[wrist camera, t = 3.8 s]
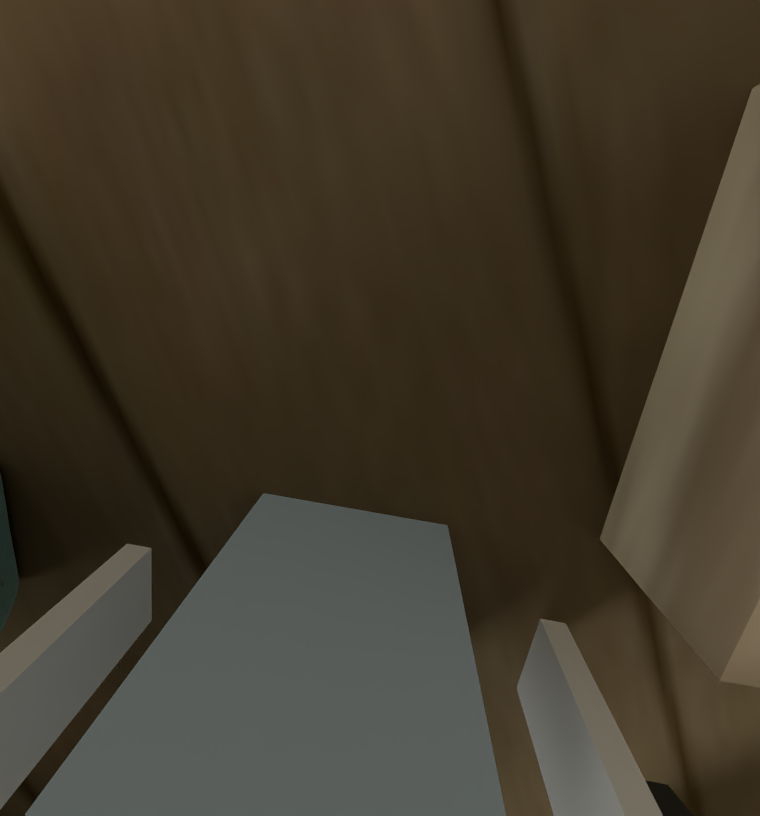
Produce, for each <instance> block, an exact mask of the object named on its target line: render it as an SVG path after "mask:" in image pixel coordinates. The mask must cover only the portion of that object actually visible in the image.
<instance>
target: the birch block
mask: <svg viewBox="0 0 760 816" xmlns="http://www.w3.org/2000/svg"><path fill="white" fill-rule="evenodd" d="M600 540H601V541H602V543H603V544H604V545H605V546H606V547H607V548H608V550H609V551H610V552H611V553H612V554H613V556H614V557H615V558H616V559H617V560H618V562H619V563H620V564H621V565H622V566H623V568H624V569H625V570H626V571H627V572H628V573H629V575H630V576H631V577H632V578H633V579H634V581H635V582H636V583H637V584H638V585H639V587H640V588H641V589H642V590H643V591H644V592H645V594H646V595H647V596H648V597H649V598H650V600H651V601H652V602H653V603H654V604H655V606H656V607H657V608H658V609H659V610H660V611H661V613H662V614H663V615H664V616H665V617H666V619H667V620H668V621H669V622H670V623H671V625H672V626H673V627H674V628H675V629H676V630H677V632H678V633H679V634H680V635H681V636H682V638H683V639H684V640H685V641H686V642H687V644H688V645H689V646H690V647H691V648H692V650H693V651H694V652H695V653H696V654H697V655H698V657H699V658H700V659H701V660H702V661H703V663H704V664H705V665H706V666H707V667H708V669H709V670H710V671H711V672H712V673H713V674H714V676H715V677H716V678H717V679H718V680H719V681H722V682H728V683H734V684H740V685H747V686H753V687H759V688H760V84H759V85H757V86H755V87H754V88H752V90H751V93H750V96H749V99H748V102H747V105H746V108H745V111H744V114H743V117H742V120H741V123H740V126H739V129H738V132H737V135H736V138H735V141H734V144H733V146H732V149H731V152H730V155H729V158H728V161H727V164H726V167H725V170H724V173H723V176H722V179H721V182H720V185H719V188H718V191H717V194H716V197H715V200H714V203H713V205H712V208H711V211H710V214H709V217H708V220H707V223H706V226H705V229H704V232H703V235H702V238H701V241H700V244H699V247H698V250H697V253H696V256H695V259H694V262H693V264H692V267H691V270H690V273H689V276H688V279H687V282H686V285H685V288H684V291H683V294H682V297H681V300H680V303H679V306H678V309H677V312H676V315H675V318H674V321H673V323H672V326H671V329H670V332H669V335H668V338H667V341H666V344H665V347H664V350H663V353H662V356H661V359H660V362H659V365H658V368H657V371H656V374H655V377H654V380H653V382H652V385H651V388H650V391H649V394H648V397H647V400H646V403H645V406H644V409H643V412H642V415H641V418H640V421H639V424H638V427H637V430H636V433H635V436H634V438H633V441H632V444H631V447H630V450H629V453H628V456H627V459H626V462H625V465H624V468H623V471H622V474H621V477H620V480H619V483H618V486H617V489H616V492H615V495H614V497H613V500H612V503H611V506H610V509H609V512H608V515H607V518H606V521H605V524H604V527H603V530H602V533H601V536H600Z"/></svg>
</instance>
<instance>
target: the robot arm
mask: <svg viewBox="0 0 760 816" xmlns="http://www.w3.org/2000/svg"><path fill="white" fill-rule="evenodd" d="M151 621H152V548H149V547H143V546H137V545H132V544H126V545H125V546H124V547H122V548H121V549H120V550H119V551H118V552H117V553H116V554H114V555H113V556H112V557H111V558H110V559H109V560H107V561H106V562H105V563H104V564H103V565H102V566H100V567H99V568H98V569H97V570H96V571H95V572H93V573H92V574H91V575H90V576H89V577H88V578H86V579H85V580H84V581H83V582H82V583H81V584H80V585H78V586H77V587H76V588H75V589H74V590H73V591H71V592H70V593H69V594H68V595H67V596H66V597H64V598H63V599H62V600H61V601H60V602H59V603H57V604H56V605H55V606H54V607H53V608H52V609H50V610H49V611H48V612H47V613H46V614H45V615H44V616H42V617H41V618H40V619H39V620H38V621H37V622H35V623H34V624H33V625H32V626H31V627H30V628H28V629H27V630H26V631H25V632H24V633H23V634H21V635H20V636H19V637H18V638H17V639H16V640H14V641H13V642H12V643H11V644H10V645H9V646H8V647H6V648H5V649H4V650H3V651H2V652H1V653H0V809H1V808H2V807H3V806H4V804H5V803H6V802H7V801H8V799H9V798H10V797H11V796H12V794H13V793H14V792H15V791H16V789H17V788H18V787H19V786H20V784H21V783H22V782H23V781H24V779H25V778H26V777H27V776H28V774H29V773H30V772H31V771H32V769H33V768H34V767H35V766H36V764H37V763H38V762H39V761H40V759H41V758H42V757H43V756H44V754H45V753H46V752H47V751H48V749H49V748H50V747H51V746H52V744H53V743H54V742H55V741H56V739H57V738H58V737H59V736H60V734H61V733H62V732H63V731H64V729H65V728H66V727H67V726H68V724H69V723H70V722H71V721H72V719H73V718H74V717H75V716H76V714H77V713H78V712H79V711H80V709H81V708H82V707H83V706H84V704H85V703H86V702H87V701H88V699H89V698H90V697H91V696H92V694H93V693H94V692H95V691H96V689H97V688H98V687H99V686H100V684H101V683H102V682H103V681H104V679H105V678H106V677H107V676H108V675H109V673H110V672H111V671H112V670H113V668H114V667H115V666H116V665H117V663H118V662H119V661H120V660H121V658H122V657H123V656H124V655H125V653H126V652H127V651H128V650H129V648H130V647H131V646H132V645H133V643H134V642H135V641H136V640H137V638H138V637H139V636H140V635H141V633H142V632H143V631H144V630H145V628H146V627H147V626H148V625H149V623H150V622H151ZM517 691H518V695H519V698H520V702H521V705H522V708H523V712H524V715H525V719H526V722H527V726H528V729H529V732H530V736H531V739H532V743H533V746H534V750H535V753H536V756H537V760H538V763H539V767H540V770H541V773H542V777H543V780H544V784H545V787H546V791H547V794H548V797H549V801H550V804H551V808H552V811H553V815H554V816H693V815H692V814H691V813H690V811H689V810H688V809H687V808H686V807H685V805H684V804H683V803H682V802H681V800H680V799H679V798H678V797H677V796H676V794H675V793H674V792H673V791H672V790H671V788H670V787H669V786H668V785H666V784H660V783H655V782H650V781H645V779H644V777H643V775H642V773H641V771H640V769H639V767H638V765H637V763H636V761H635V759H634V757H633V755H632V753H631V751H630V749H629V747H628V746H627V744H626V742H625V740H624V738H623V736H622V734H621V732H620V730H619V728H618V726H617V724H616V722H615V720H614V718H613V716H612V714H611V712H610V710H609V708H608V706H607V704H606V702H605V700H604V698H603V696H602V694H601V692H600V690H599V688H598V686H597V684H596V682H595V680H594V678H593V676H592V674H591V672H590V670H589V668H588V666H587V664H586V662H585V660H584V658H583V656H582V655H581V653H580V651H579V649H578V647H577V645H576V643H575V641H574V639H573V637H572V635H571V633H570V631H569V629H568V627H567V625H566V623H562V622H557V621H551V620H546V619H540V620H539V623H538V626H537V629H536V632H535V635H534V638H533V641H532V644H531V647H530V650H529V653H528V656H527V659H526V661H525V664H524V667H523V670H522V673H521V676H520V679H519V682H518V685H517Z"/></svg>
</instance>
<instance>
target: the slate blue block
mask: <svg viewBox="0 0 760 816" xmlns="http://www.w3.org/2000/svg"><path fill="white" fill-rule="evenodd" d="M25 816H506V813H505V808H504V803H503V798H502V793H501V788H500V783H499V778H498V773H497V768H496V763H495V758H494V753H493V748H492V743H491V738H490V733H489V728H488V723H487V718H486V713H485V708H484V703H483V698H482V693H481V688H480V683H479V678H478V673H477V669H476V664H475V659H474V654H473V649H472V644H471V639H470V634H469V629H468V624H467V619H466V614H465V609H464V604H463V599H462V594H461V589H460V584H459V579H458V574H457V569H456V564H455V559H454V554H453V549H452V544H451V539H450V534H449V529H448V525H443V524H438V523H432V522H426V521H420V520H415V519H409V518H403V517H398V516H392V515H386V514H380V513H375V512H369V511H363V510H358V509H352V508H346V507H340V506H335V505H329V504H323V503H318V502H312V501H306V500H300V499H295V498H289V497H283V496H277V495H272V494H266V493H263V494H262V495H261V497H260V498H259V500H258V501H257V502H256V504H255V505H254V506H253V508H252V509H251V510H250V512H249V513H248V514H247V516H246V517H245V518H244V520H243V521H242V522H241V524H240V525H239V526H238V528H237V529H236V531H235V532H234V533H233V535H232V536H231V537H230V539H229V540H228V541H227V543H226V544H225V545H224V547H223V548H222V549H221V551H220V552H219V553H218V555H217V556H216V557H215V559H214V560H213V562H212V563H211V564H210V566H209V567H208V568H207V570H206V571H205V572H204V574H203V575H202V576H201V578H200V579H199V580H198V582H197V583H196V584H195V586H194V587H193V588H192V590H191V591H190V593H189V594H188V595H187V597H186V598H185V599H184V601H183V602H182V603H181V605H180V606H179V607H178V609H177V610H176V611H175V613H174V614H173V615H172V617H171V618H170V619H169V621H168V622H167V624H166V625H165V626H164V628H163V629H162V630H161V632H160V633H159V634H158V636H157V637H156V638H155V640H154V641H153V642H152V644H151V645H150V646H149V648H148V649H147V650H146V652H145V653H144V655H143V656H142V657H141V659H140V660H139V661H138V663H137V664H136V665H135V667H134V668H133V669H132V671H131V672H130V673H129V675H128V676H127V677H126V679H125V680H124V682H123V683H122V684H121V686H120V687H119V688H118V690H117V691H116V692H115V694H114V695H113V696H112V698H111V699H110V700H109V702H108V703H107V704H106V706H105V707H104V708H103V710H102V711H101V713H100V714H99V715H98V717H97V718H96V719H95V721H94V722H93V723H92V725H91V726H90V727H89V729H88V730H87V731H86V733H85V734H84V735H83V737H82V738H81V739H80V741H79V742H78V744H77V745H76V746H75V748H74V749H73V750H72V752H71V753H70V754H69V756H68V757H67V758H66V760H65V761H64V762H63V764H62V765H61V766H60V768H59V769H58V770H57V772H56V773H55V775H54V776H53V777H52V779H51V780H50V781H49V783H48V784H47V785H46V787H45V788H44V789H43V791H42V792H41V793H40V795H39V796H38V797H37V799H36V800H35V801H34V803H33V804H32V806H31V807H30V808H29V810H28V811H27V812H26V814H25Z"/></svg>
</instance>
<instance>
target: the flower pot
mask: <svg viewBox="0 0 760 816" xmlns="http://www.w3.org/2000/svg"><path fill="white" fill-rule="evenodd" d="M18 590H19V577H18V571H17V565H16V560H15V555H14V549H13V544H12V538H11V533H10V527H9V521H8V514H7V507H6V501H5V495H4V489H3V483H2V478H1V474H0V634H1V632H2V630H3V628H4V625H5V623H6V621H7V619H8V617H9V614H10V611H11V609H12V606H13V604H14V601H15V599H16V596H17V593H18Z"/></svg>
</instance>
